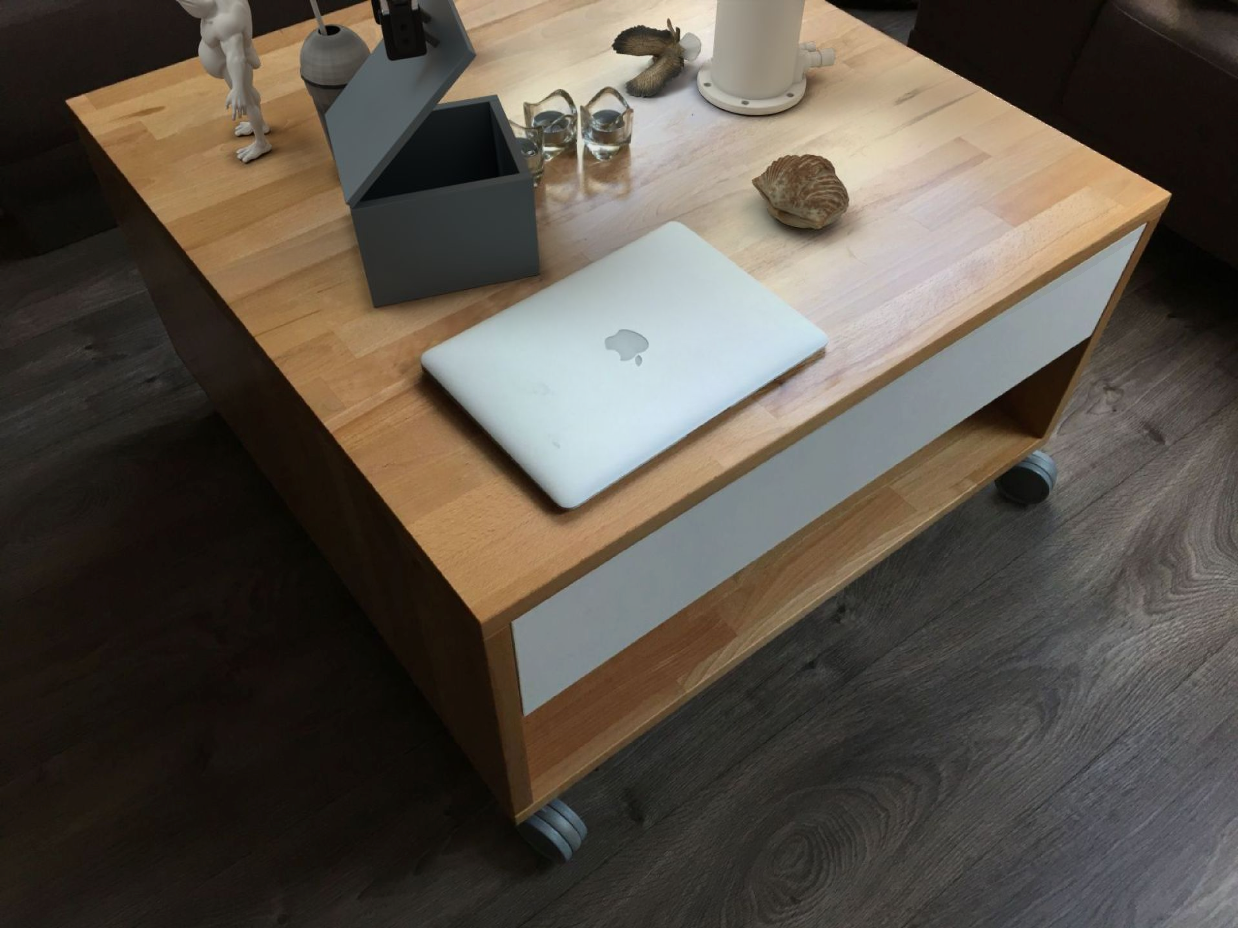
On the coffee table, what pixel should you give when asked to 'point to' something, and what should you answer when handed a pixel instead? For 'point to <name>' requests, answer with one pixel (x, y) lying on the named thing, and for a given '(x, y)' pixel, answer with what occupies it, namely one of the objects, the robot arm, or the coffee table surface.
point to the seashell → (803, 191)
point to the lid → (395, 98)
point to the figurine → (232, 63)
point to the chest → (450, 208)
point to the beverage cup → (330, 64)
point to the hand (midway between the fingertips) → (400, 36)
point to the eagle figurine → (656, 55)
